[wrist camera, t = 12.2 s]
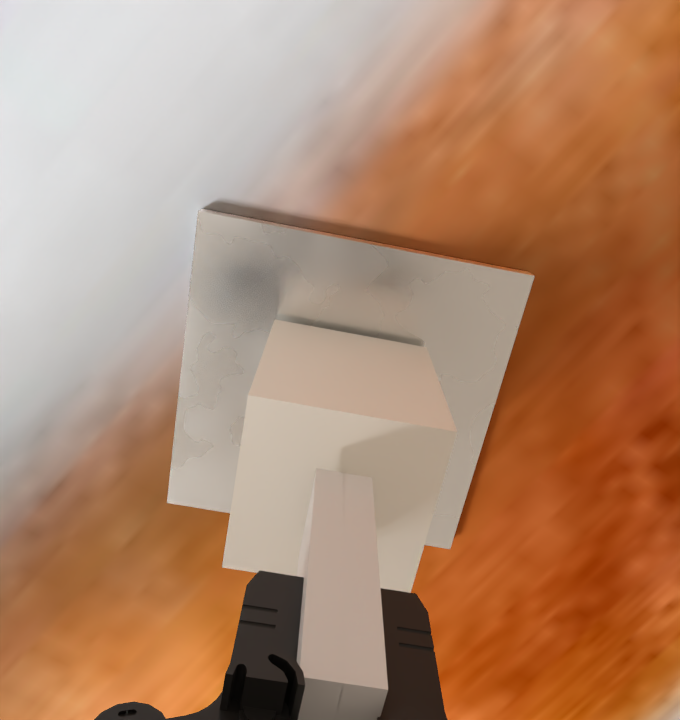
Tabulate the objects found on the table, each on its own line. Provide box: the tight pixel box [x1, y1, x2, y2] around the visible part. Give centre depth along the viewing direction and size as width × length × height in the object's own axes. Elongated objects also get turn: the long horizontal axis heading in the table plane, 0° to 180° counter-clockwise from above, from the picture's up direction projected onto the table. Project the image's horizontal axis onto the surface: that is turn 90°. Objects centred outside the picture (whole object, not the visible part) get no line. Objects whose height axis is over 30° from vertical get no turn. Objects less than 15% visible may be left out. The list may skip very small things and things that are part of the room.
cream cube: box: [222, 319, 457, 593], centre depth 20 cm, size 6×6×7 cm
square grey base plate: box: [167, 209, 535, 549], centre depth 21 cm, size 12×12×7 cm
